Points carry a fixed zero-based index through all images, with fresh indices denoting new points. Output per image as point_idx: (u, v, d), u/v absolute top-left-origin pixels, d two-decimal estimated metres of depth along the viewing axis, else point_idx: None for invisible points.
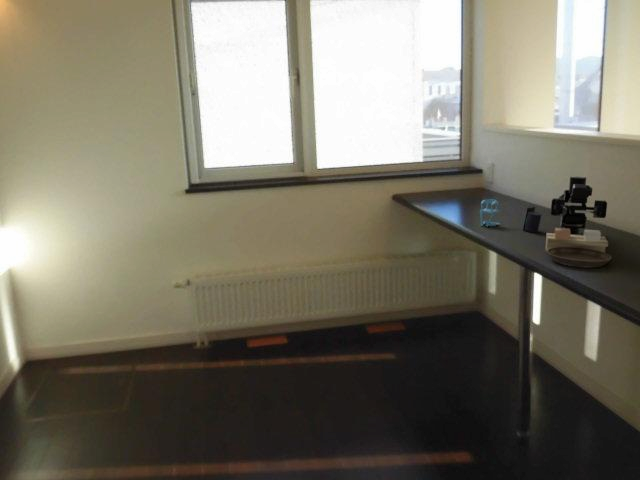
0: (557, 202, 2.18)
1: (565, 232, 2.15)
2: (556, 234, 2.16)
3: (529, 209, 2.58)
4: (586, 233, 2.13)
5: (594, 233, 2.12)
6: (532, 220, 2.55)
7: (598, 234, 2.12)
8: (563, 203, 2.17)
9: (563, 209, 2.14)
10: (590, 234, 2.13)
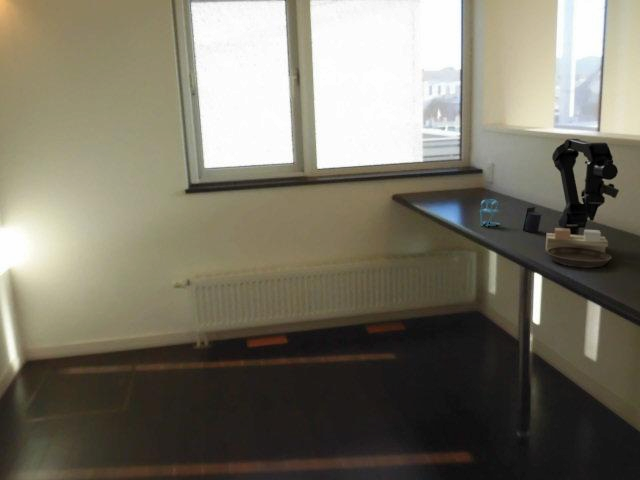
0: (600, 204, 2.13)
1: (565, 232, 2.15)
2: (556, 234, 2.16)
3: (529, 209, 2.58)
4: (586, 233, 2.13)
5: (594, 233, 2.12)
6: (532, 220, 2.55)
7: (598, 234, 2.12)
8: (598, 206, 2.16)
9: (592, 214, 2.17)
10: (590, 234, 2.13)
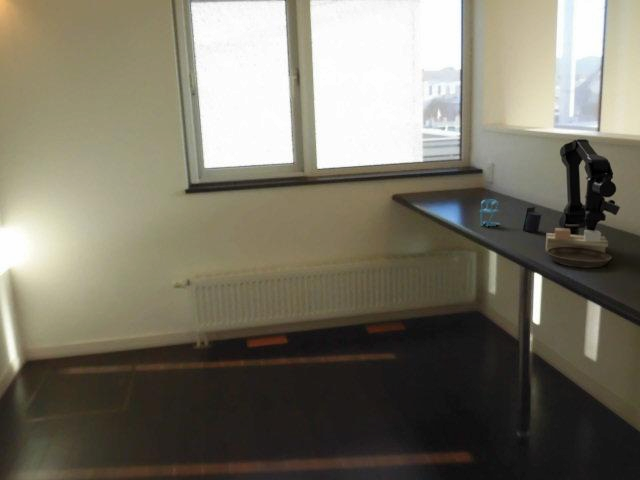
0: None
1: (565, 232, 2.15)
2: (556, 234, 2.16)
3: (529, 209, 2.58)
4: (586, 233, 2.12)
5: (594, 233, 2.12)
6: (532, 220, 2.55)
7: (598, 234, 2.11)
8: None
9: (592, 229, 2.17)
10: (590, 234, 2.12)
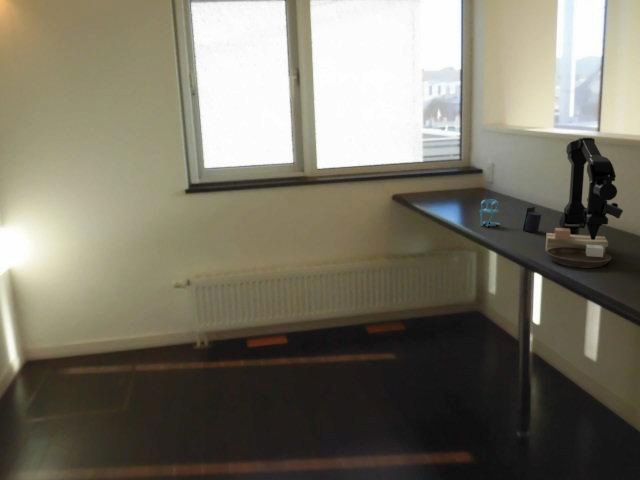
0: (601, 223, 2.07)
1: (565, 232, 2.15)
2: (556, 234, 2.16)
3: (529, 209, 2.58)
4: None
5: None
6: (532, 220, 2.55)
7: None
8: None
9: (594, 233, 2.10)
10: None
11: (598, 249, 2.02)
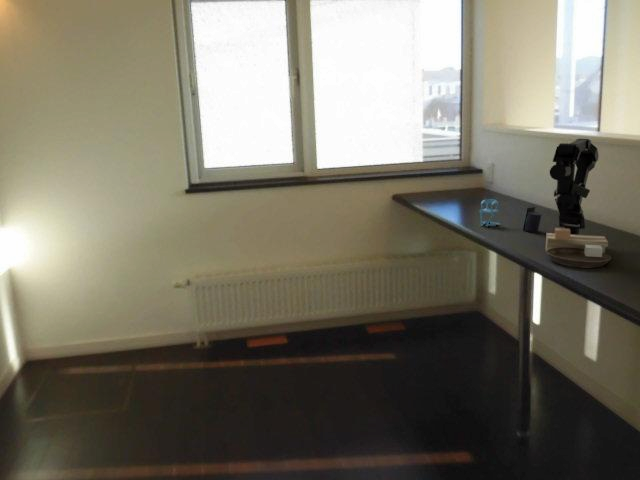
0: (570, 203, 2.20)
1: (565, 232, 2.15)
2: (556, 234, 2.16)
3: (529, 209, 2.58)
4: None
5: None
6: (532, 220, 2.55)
7: None
8: (569, 204, 2.22)
9: (563, 212, 2.23)
10: None
11: (597, 249, 2.02)
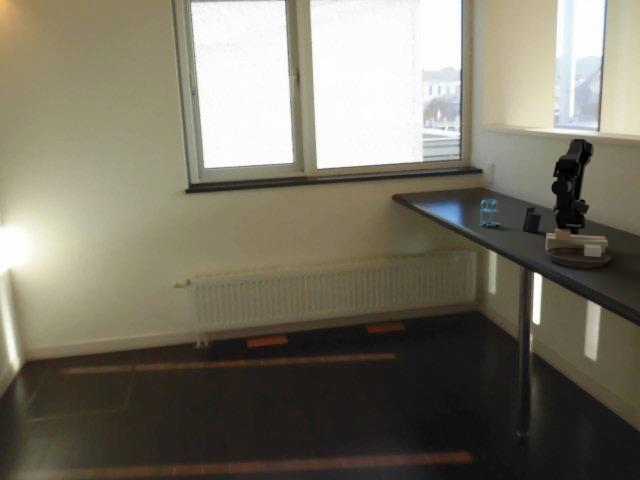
0: (569, 219, 2.16)
1: (565, 233, 2.14)
2: (556, 235, 2.15)
3: (529, 209, 2.58)
4: None
5: None
6: (532, 220, 2.55)
7: None
8: None
9: (562, 228, 2.19)
10: None
11: (596, 249, 2.02)
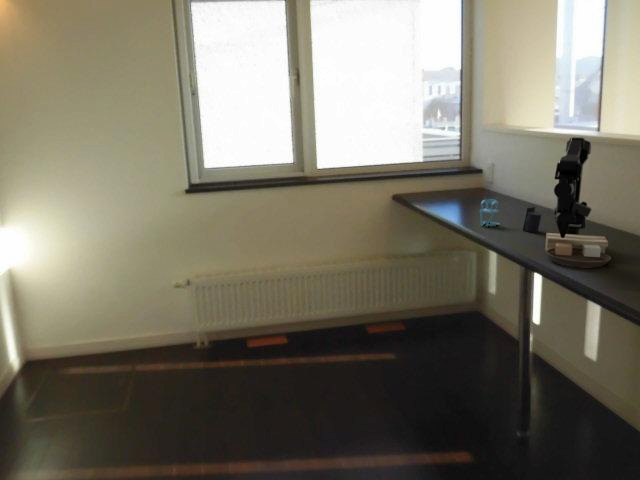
0: None
1: None
2: None
3: (529, 209, 2.58)
4: None
5: None
6: (532, 220, 2.55)
7: None
8: (569, 223, 2.12)
9: (563, 231, 2.13)
10: None
11: (595, 249, 2.02)
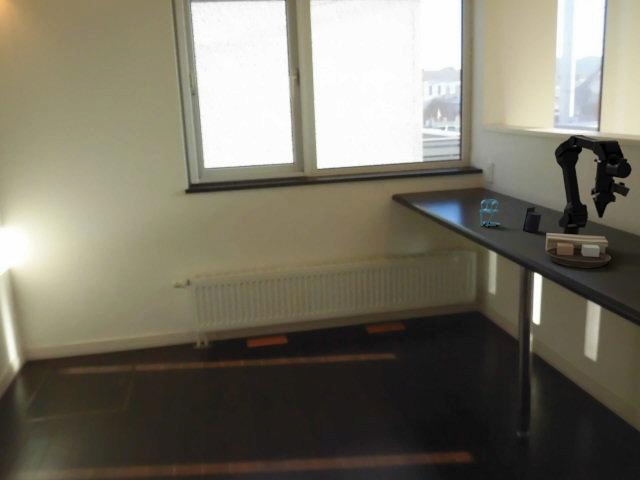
0: (609, 201, 2.13)
1: None
2: None
3: (529, 209, 2.58)
4: None
5: None
6: (532, 220, 2.55)
7: None
8: None
9: (601, 211, 2.17)
10: None
11: (594, 249, 2.03)
